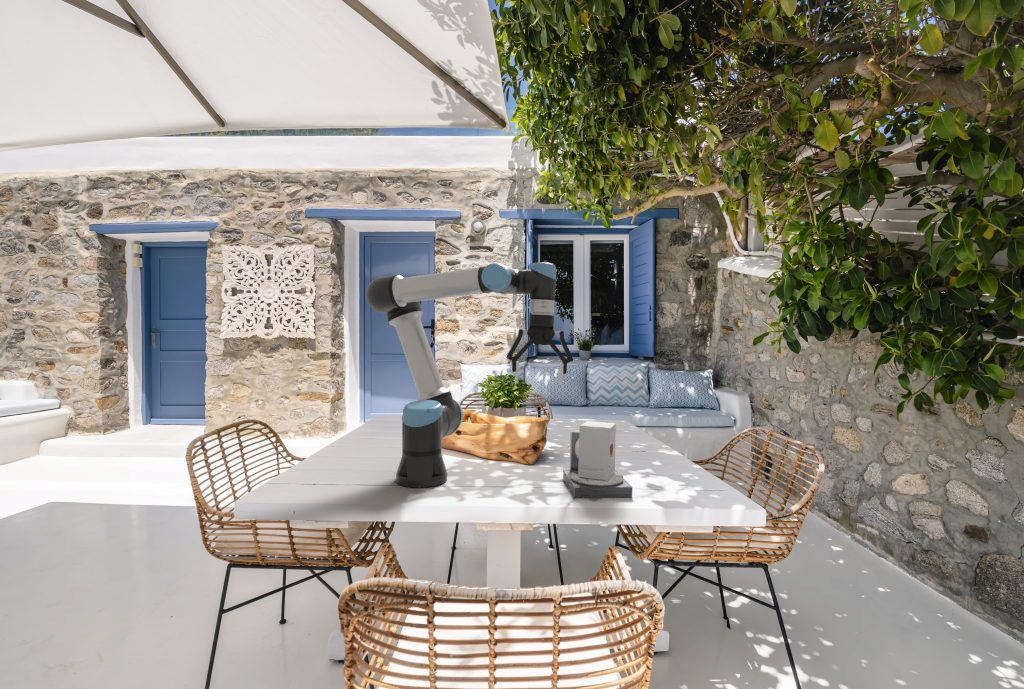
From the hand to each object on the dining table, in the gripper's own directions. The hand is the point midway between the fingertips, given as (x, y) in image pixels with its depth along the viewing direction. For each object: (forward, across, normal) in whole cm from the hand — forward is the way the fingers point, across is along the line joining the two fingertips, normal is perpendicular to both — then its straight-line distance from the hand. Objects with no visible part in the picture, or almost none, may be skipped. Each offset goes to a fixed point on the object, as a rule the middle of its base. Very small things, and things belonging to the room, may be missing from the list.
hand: (538, 383), depth 161 cm
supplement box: (+25, +17, -11) cm, 32 cm away
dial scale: (+29, +17, -10) cm, 35 cm away
